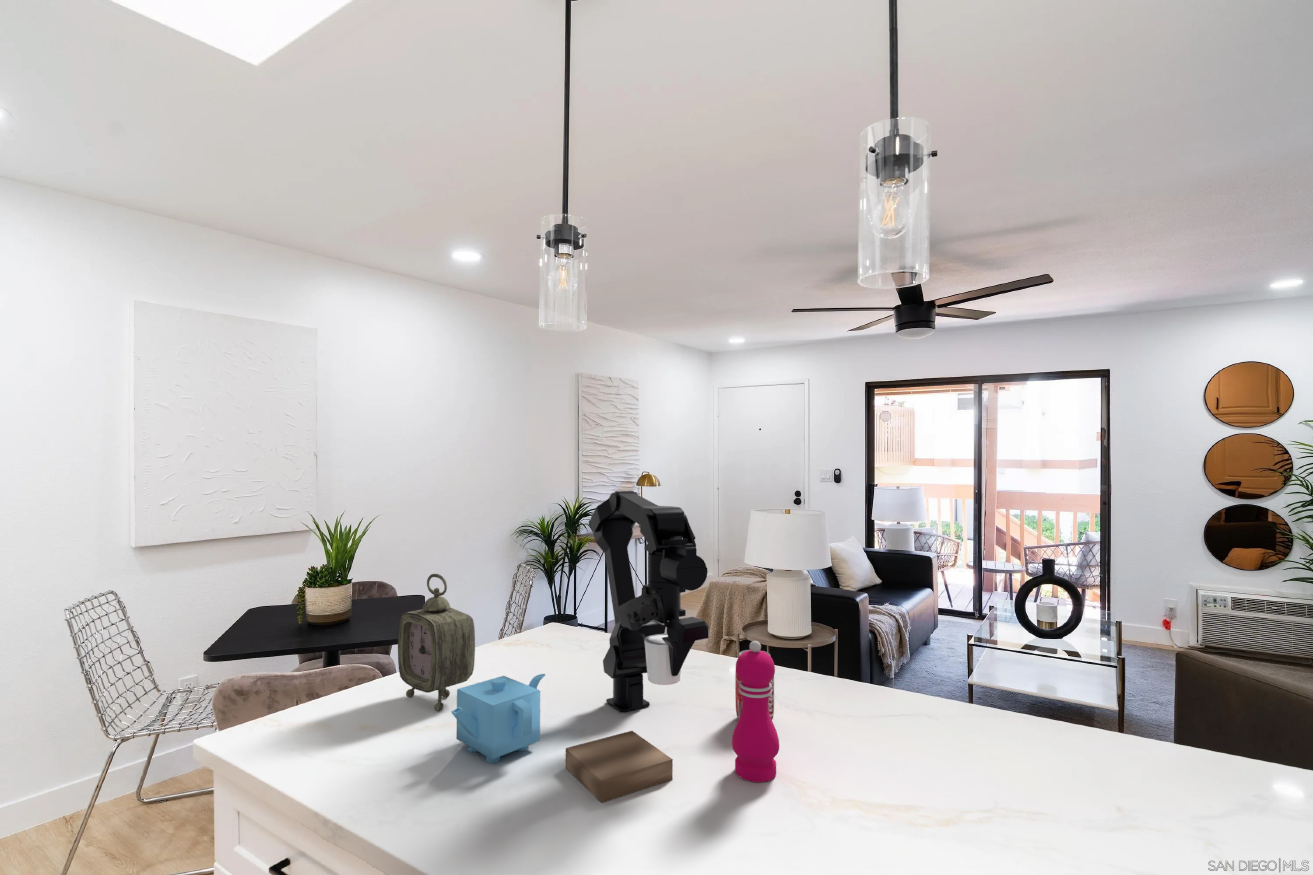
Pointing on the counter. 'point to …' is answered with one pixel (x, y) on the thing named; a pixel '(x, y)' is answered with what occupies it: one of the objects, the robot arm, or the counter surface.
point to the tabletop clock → (435, 646)
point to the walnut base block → (618, 765)
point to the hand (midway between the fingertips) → (664, 670)
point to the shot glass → (659, 661)
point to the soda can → (739, 695)
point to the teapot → (498, 716)
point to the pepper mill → (755, 718)
